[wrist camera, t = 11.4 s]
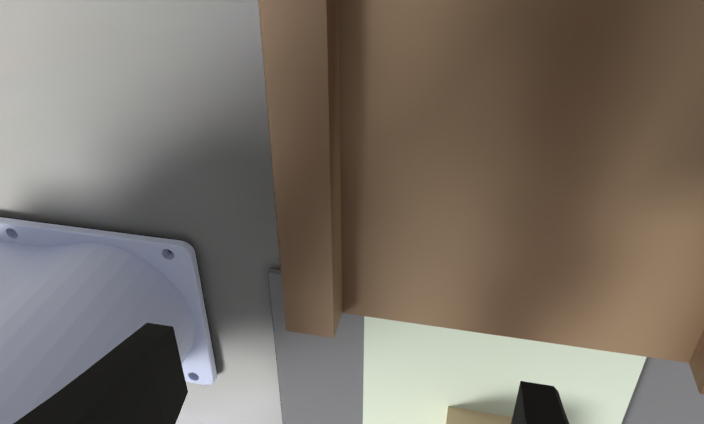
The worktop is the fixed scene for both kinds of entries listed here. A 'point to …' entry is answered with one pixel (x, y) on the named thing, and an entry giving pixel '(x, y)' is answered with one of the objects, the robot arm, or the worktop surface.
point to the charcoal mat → (348, 366)
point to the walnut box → (492, 168)
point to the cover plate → (484, 376)
